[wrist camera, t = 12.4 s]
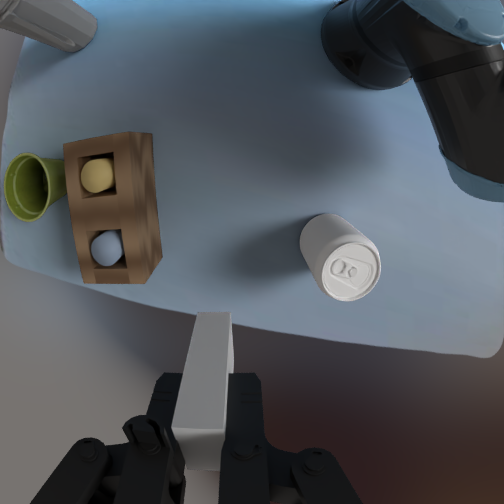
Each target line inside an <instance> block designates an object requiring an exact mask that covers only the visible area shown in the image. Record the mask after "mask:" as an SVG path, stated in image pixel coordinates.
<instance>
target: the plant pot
mask: <svg viewBox="0 0 504 504" xmlns="http://www.w3.org/2000/svg"><path fill="white" fill-rule="evenodd" d="M45 174H46V180H45ZM66 193H67V185H66V176H65V164H64V161H62V160H59V159H47V158H40V157H38V156H37V155H35V154H33V153H22V154H19V155H18V156H16V157H15V158H14V159H13V160H12V161H11V162H10V164H9V166H8V168H7V170H6V173H5V177H4V194H5V199H6V202H7V205H8V207H9V209H10V210H11V212H12V213H13V214H14V215H15V216H16V217H17V218H18V219H20V220H22V221H25V222H32V221H35V220H37V219H39V218H40V217H41V216H42V215H43V214H44V213H45V211H46V210H47V208H48V207H49V206H50V205H51V204H53V203H54V202H55V201H57V200H58V199H60V198H61V197H63V196H64V195H65V194H66Z"/></svg>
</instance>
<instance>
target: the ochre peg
mask: <svg viewBox="0 0 504 504" xmlns="http://www.w3.org/2000/svg"><path fill="white" fill-rule="evenodd" d="M81 181H82V184H83V186H84V187H85V189H86V190H88V191H89V192H92V193H97V192H100V191H103V190H105V189H108V188H111V187H113V186H116V179H115V167H114V157H109V158H103V159H96V160H91V161H89V162H87V163H86V164H85V165H84V167H83V169H82V172H81Z"/></svg>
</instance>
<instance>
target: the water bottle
mask: <svg viewBox="0 0 504 504" xmlns="http://www.w3.org/2000/svg"><path fill="white" fill-rule="evenodd" d="M0 28H2V29H6V30H9V31H12V32H14V33H17V34H20V35H23V36H26V37H29V38H31V39H34V40H37V41H40V42H42V43H45V44H47V45H50V46H52V47H55V48H57V49H60V50H62V51H65V52H76V51H78V50H80V49H82V48H84V47H85V46H86V45H87V44H88V43H89V42H90V41H91V40H92V39H93V37H94V34H95V32H96V30H97V19H96V18H95V17H94V16H93V15H92V14H91V13H89V12H88V11H86V10H85V9H84V8H82V7H81V6H79V5H78V4H77V3H75V2H74V1H72V0H0Z"/></svg>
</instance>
